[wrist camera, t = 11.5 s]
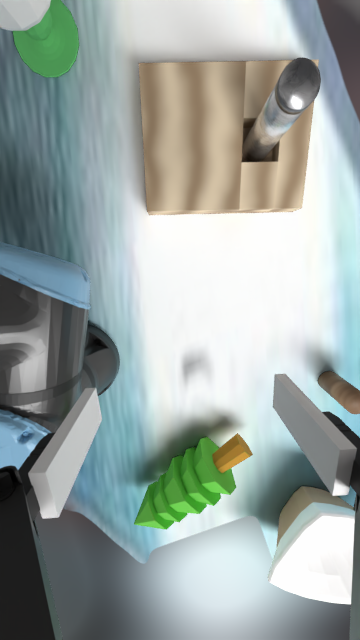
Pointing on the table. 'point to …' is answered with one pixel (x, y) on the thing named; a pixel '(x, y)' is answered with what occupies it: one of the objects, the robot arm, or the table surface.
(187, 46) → the table surface
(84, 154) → the table surface
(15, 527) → the robot arm
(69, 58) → the cup
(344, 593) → the bowl
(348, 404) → the walnut dowel
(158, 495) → the decorative tree
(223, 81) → the board
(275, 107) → the pin
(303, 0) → the table surface
